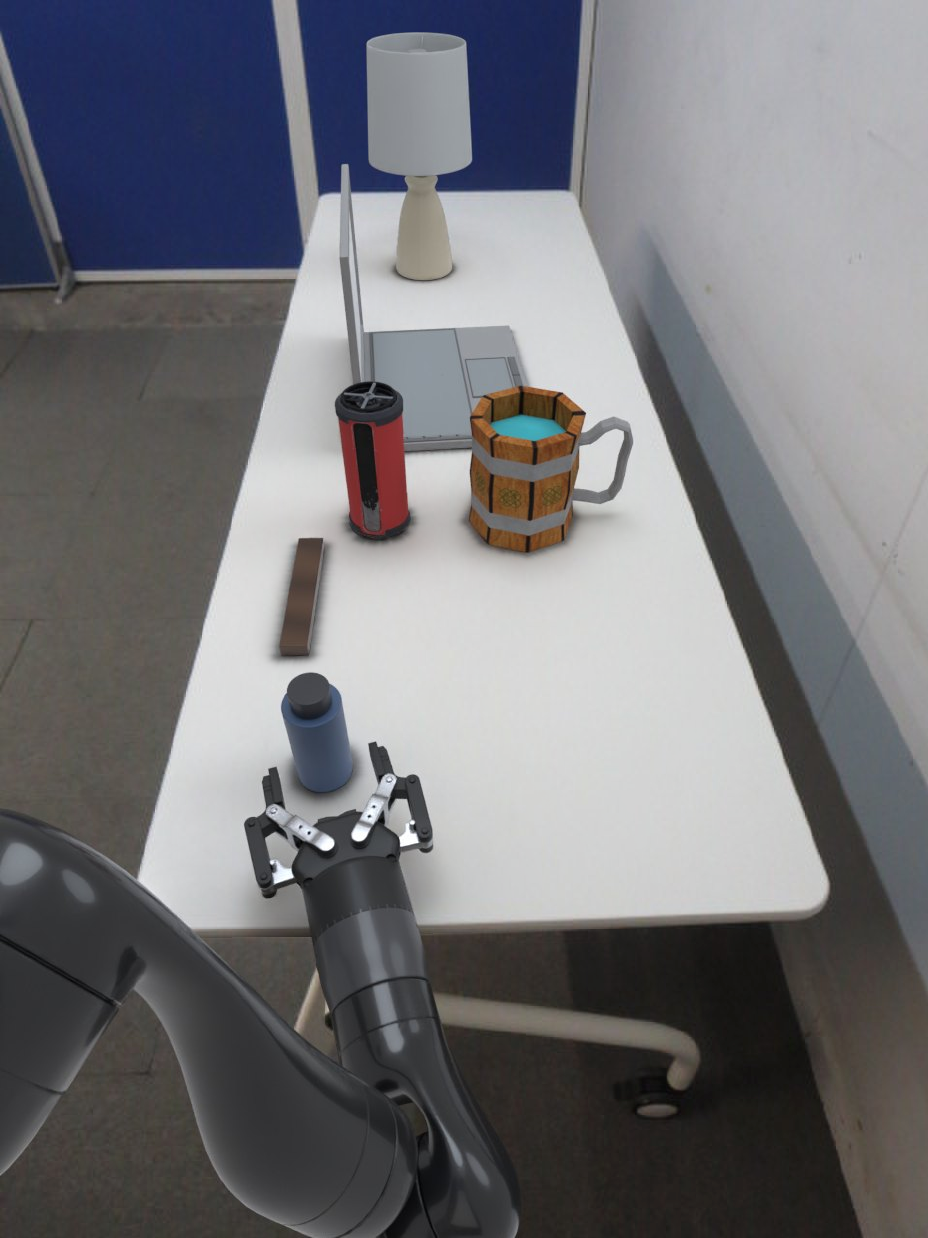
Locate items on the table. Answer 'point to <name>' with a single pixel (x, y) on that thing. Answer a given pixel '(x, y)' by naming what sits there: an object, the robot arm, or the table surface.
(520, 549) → the mug
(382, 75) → the lamp
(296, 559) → the walnut strip
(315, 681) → the water bottle
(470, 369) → the laptop
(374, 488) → the speaker
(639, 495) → the table surface
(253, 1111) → the robot arm
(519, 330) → the table surface
